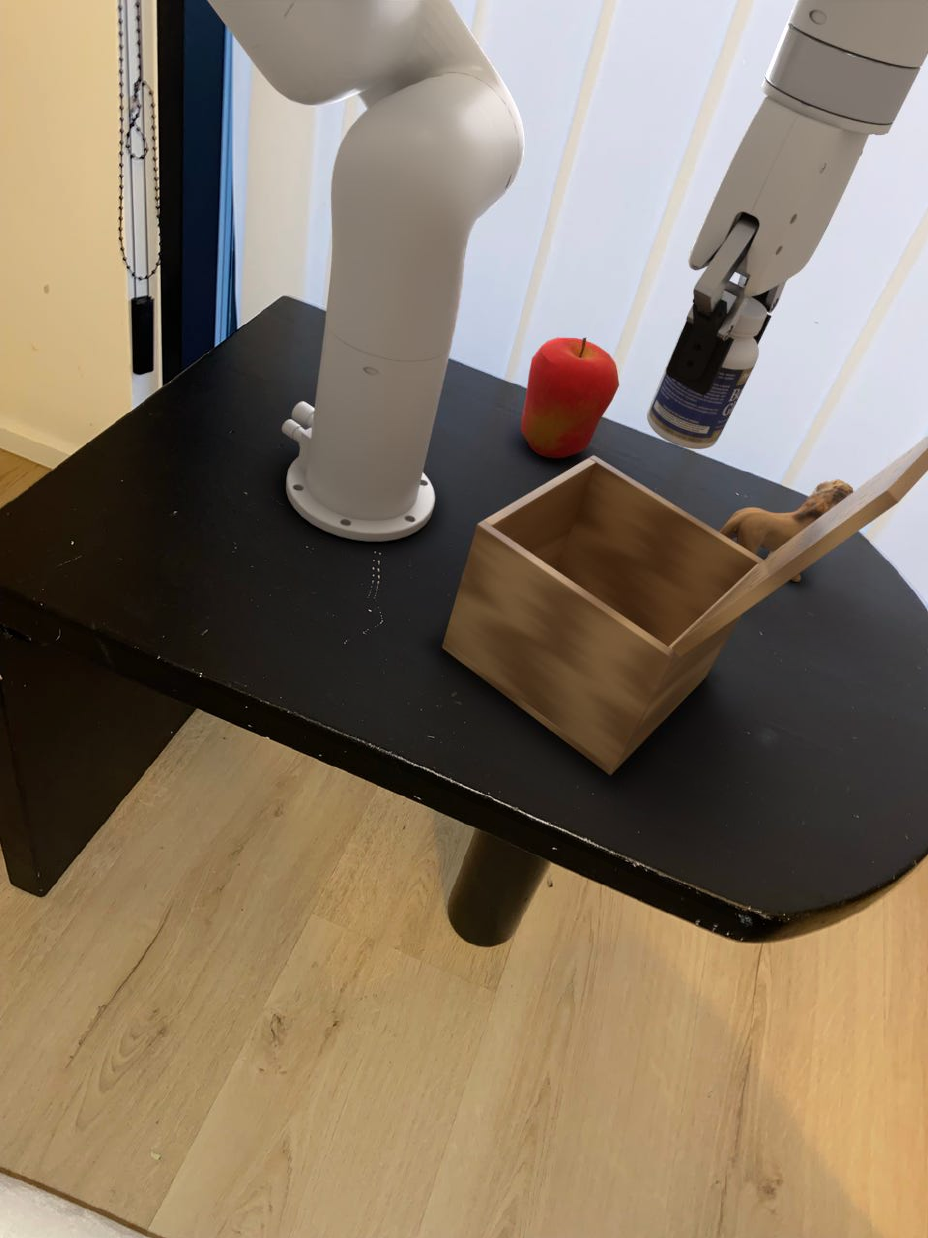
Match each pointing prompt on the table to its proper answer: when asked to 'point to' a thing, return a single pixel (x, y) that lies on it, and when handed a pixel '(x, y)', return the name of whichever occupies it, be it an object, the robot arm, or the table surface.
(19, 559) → the table surface
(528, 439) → the apple
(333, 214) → the robot arm
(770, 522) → the lion figurine
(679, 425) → the pill bottle
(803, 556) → the cover
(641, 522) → the case box
